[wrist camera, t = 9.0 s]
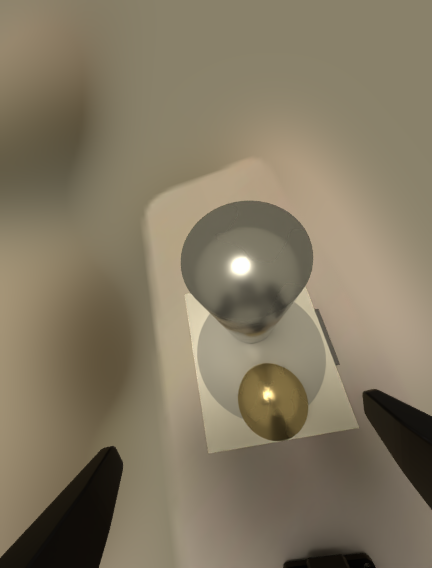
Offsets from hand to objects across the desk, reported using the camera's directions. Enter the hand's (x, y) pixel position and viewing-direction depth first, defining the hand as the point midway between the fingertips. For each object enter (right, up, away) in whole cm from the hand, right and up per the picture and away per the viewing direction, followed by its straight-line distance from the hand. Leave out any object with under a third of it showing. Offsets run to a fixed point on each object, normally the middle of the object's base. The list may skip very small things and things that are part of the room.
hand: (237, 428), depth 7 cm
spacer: (+2, +2, +12) cm, 12 cm away
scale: (+3, -2, +14) cm, 14 cm away
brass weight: (+4, -4, +10) cm, 11 cm away
